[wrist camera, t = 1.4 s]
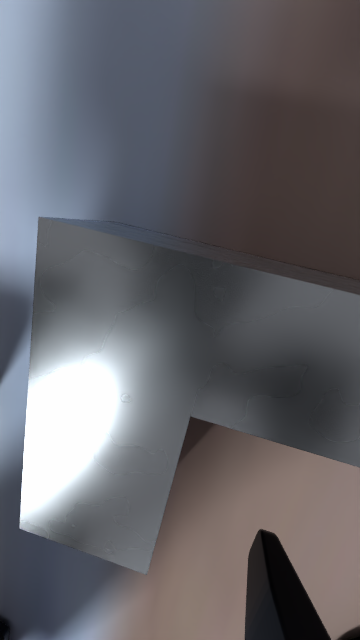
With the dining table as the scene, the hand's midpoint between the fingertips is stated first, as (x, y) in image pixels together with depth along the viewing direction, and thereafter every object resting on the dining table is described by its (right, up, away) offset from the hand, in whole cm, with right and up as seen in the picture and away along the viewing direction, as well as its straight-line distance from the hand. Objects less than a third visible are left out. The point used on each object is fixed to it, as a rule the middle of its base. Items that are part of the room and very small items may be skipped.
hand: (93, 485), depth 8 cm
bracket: (+4, +2, +3) cm, 5 cm away
